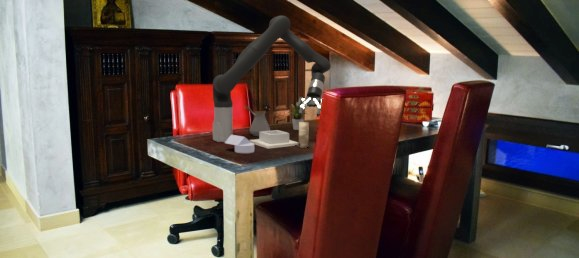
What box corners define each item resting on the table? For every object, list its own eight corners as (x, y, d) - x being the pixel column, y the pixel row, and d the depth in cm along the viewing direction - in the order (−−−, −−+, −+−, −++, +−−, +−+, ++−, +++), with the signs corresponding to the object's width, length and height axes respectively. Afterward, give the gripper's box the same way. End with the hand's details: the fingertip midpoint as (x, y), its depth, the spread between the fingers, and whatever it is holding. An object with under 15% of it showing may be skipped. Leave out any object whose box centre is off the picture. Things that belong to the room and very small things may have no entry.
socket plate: (267, 148, 234) (267, 136, 233) (249, 142, 249) (249, 131, 248) (299, 145, 244) (299, 133, 243) (279, 139, 259) (279, 128, 258)
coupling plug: (300, 148, 236) (301, 123, 234) (295, 146, 239) (295, 122, 238) (311, 147, 239) (312, 122, 237) (305, 145, 243) (306, 121, 241)
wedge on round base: (224, 150, 229) (245, 154, 221) (224, 135, 228) (245, 139, 220) (237, 147, 236) (258, 151, 228) (237, 133, 235) (258, 136, 227)
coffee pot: (274, 135, 269) (274, 108, 267) (256, 137, 263) (257, 109, 260) (253, 130, 286) (253, 104, 284) (236, 132, 279) (236, 105, 277)
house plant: (310, 131, 284) (311, 103, 282) (286, 131, 285) (287, 102, 282) (310, 127, 298) (310, 100, 296) (287, 127, 299) (287, 100, 296)
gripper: (300, 85, 255) (294, 109, 245) (327, 86, 251) (322, 111, 241) (303, 94, 260) (296, 119, 251) (329, 95, 256) (324, 120, 247)
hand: (309, 115), depth 246 cm, fingers open, 8 cm apart
